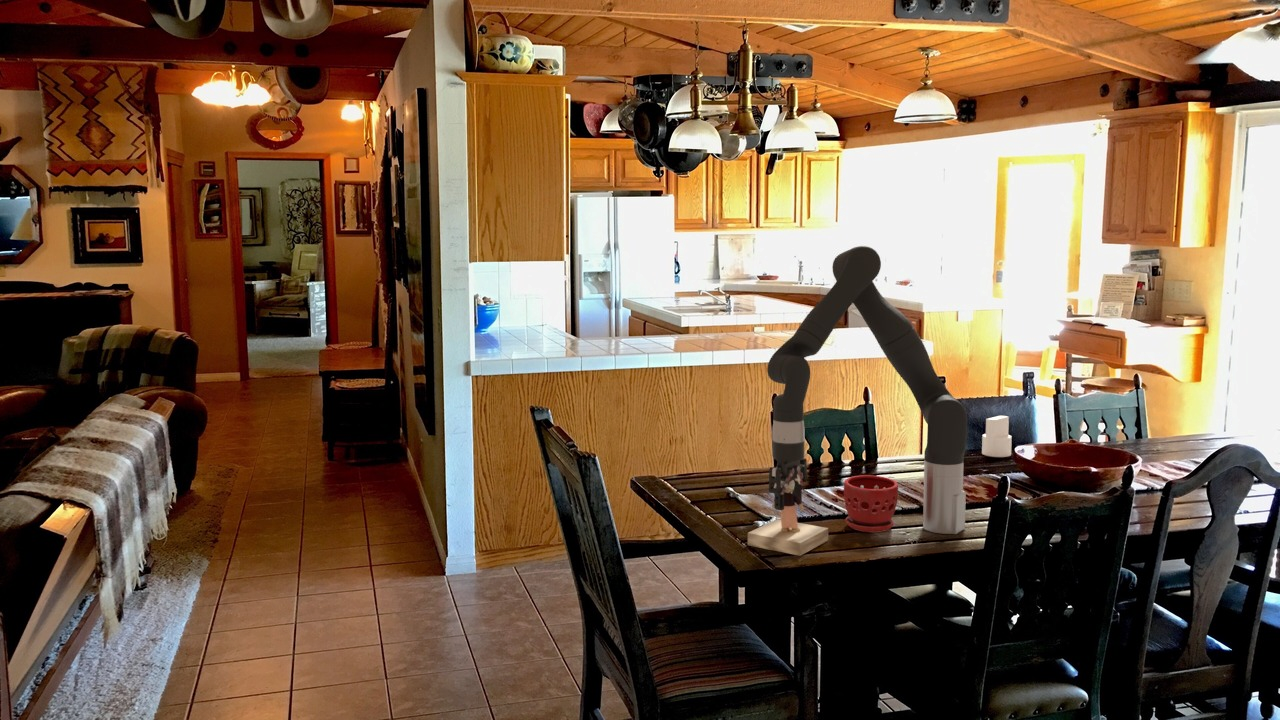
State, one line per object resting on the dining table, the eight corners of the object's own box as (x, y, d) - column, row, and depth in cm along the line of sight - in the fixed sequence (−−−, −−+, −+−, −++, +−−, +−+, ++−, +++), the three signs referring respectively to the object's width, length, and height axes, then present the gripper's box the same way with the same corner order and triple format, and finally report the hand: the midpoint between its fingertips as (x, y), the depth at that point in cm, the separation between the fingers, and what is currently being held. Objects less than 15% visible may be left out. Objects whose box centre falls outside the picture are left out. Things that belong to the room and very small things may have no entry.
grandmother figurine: (804, 528, 245) (804, 476, 243) (804, 533, 241) (804, 480, 239) (771, 527, 246) (771, 476, 244) (771, 532, 242) (771, 480, 241)
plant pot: (833, 528, 255) (833, 481, 253) (862, 517, 264) (863, 472, 262) (878, 539, 245) (879, 490, 244) (907, 527, 255) (908, 480, 253)
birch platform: (828, 540, 245) (828, 528, 245) (800, 555, 234) (800, 543, 234) (777, 530, 254) (777, 519, 253) (747, 545, 243) (747, 532, 242)
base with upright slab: (991, 449, 340) (992, 414, 338) (1016, 454, 333) (1017, 417, 331) (976, 453, 334) (977, 417, 332) (1001, 458, 327) (1002, 421, 326)
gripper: (787, 445, 233) (787, 515, 235) (816, 435, 244) (816, 501, 246) (759, 442, 237) (759, 510, 239) (789, 431, 248) (788, 496, 251)
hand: (788, 505), depth 243 cm, fingers open, 8 cm apart
